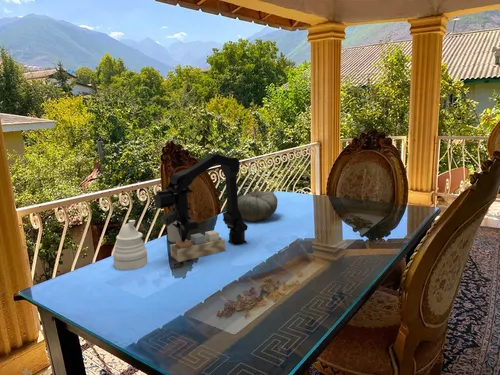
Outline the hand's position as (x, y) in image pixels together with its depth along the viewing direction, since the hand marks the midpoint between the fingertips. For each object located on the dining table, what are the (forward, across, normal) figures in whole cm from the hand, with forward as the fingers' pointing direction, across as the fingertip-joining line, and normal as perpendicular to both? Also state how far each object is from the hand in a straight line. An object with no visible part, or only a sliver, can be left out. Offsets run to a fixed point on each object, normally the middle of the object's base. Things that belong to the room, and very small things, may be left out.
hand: (183, 241), depth 157 cm
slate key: (+4, 0, +7) cm, 8 cm away
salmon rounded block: (+5, 0, 0) cm, 5 cm away
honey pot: (+7, -6, -20) cm, 22 cm away
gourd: (+7, -30, +58) cm, 65 cm away
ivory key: (+4, 0, +14) cm, 14 cm away
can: (+7, -21, +6) cm, 23 cm away
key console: (+7, 0, +7) cm, 10 cm away
